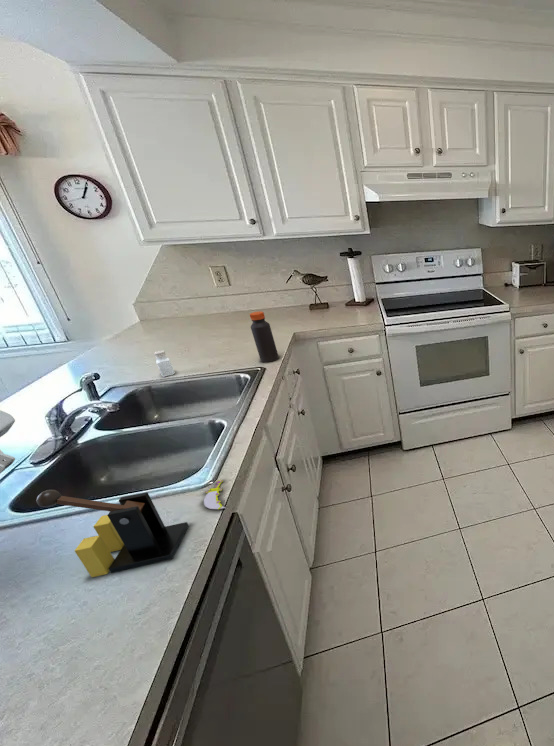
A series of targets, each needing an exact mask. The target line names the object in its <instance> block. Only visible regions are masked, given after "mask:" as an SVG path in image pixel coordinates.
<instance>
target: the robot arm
mask: <svg viewBox="0 0 554 746" xmlns="http://www.w3.org/2000/svg"><path fill="white" fill-rule="evenodd" d="M15 422H16V418H14V416H12V414H10V413H8V412H6V411H3V410H1V409H0V438H1V437H3V436H5V435H6V434H8V432H9V431H10V429H11V428H13V426H14V424H15ZM15 460H16V457H15V456H13V455H9V454H6V453H4V452H3V451H2V450H1V449H0V474H2V473H3V472H4V471H5V470H7V469H8V468H9V467H10V466H12V464H13V463H14V462H15Z"/></svg>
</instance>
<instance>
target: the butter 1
mask: <svg viewBox="0 0 554 746" xmlns="http://www.w3.org/2000/svg"><path fill="white" fill-rule="evenodd" d="M107 515H108V514H104V515H101V516H100V517H99V518H98V520H97V521H96V523H95V524H94V525H93V526H92V528H93V529H94V531H95V533H96V534H97V536H98V535H100V536H101V538H102V540H103V541H104V543H105V545H106V546H107V548H108V549H109V551H110V553H112V552H117V551H118V552H119V551H120V550H121V549H122V547H123V546H124V543H123V541H122V540H121V538H120V536H119V535H118V533H117V531H116V529H115V528H114V526H113V524H112V522H111V521H110V519H109V517H108V516H107Z"/></svg>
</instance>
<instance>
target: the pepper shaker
mask: <svg viewBox="0 0 554 746" xmlns="http://www.w3.org/2000/svg"><path fill="white" fill-rule="evenodd" d="M153 355H154V357H155V358H156V360H155V363H156V365H157V367H158V370H159V372H160V375H161V376H162V377H163V378H164V377H169V376H172V375H173V376H174V375H175V373H176V372H175V370H174V367H173V364H172V362H171V361H170V360H171V359H170V358H169V357H167V354H166V351H165V350H157V351H154V353H153Z"/></svg>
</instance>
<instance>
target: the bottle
mask: <svg viewBox="0 0 554 746" xmlns="http://www.w3.org/2000/svg"><path fill="white" fill-rule="evenodd" d="M249 317H250V320H251V322H252V324H251V325H250V330H251V334H252V337H253V339H254V343H255V346H256V351H257V354H258V357H259V360H260V362H262V363H271V362H272V363H273V362H275V361H277V360H279V357H280V356H279V353H278V349H277V346H276V342H275V338H274V334H273V332H272V331H273V330H272V327H271V325H270V323H269V322H268V321H266V316H265V313H264V311H253V312H250V313H249Z"/></svg>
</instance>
